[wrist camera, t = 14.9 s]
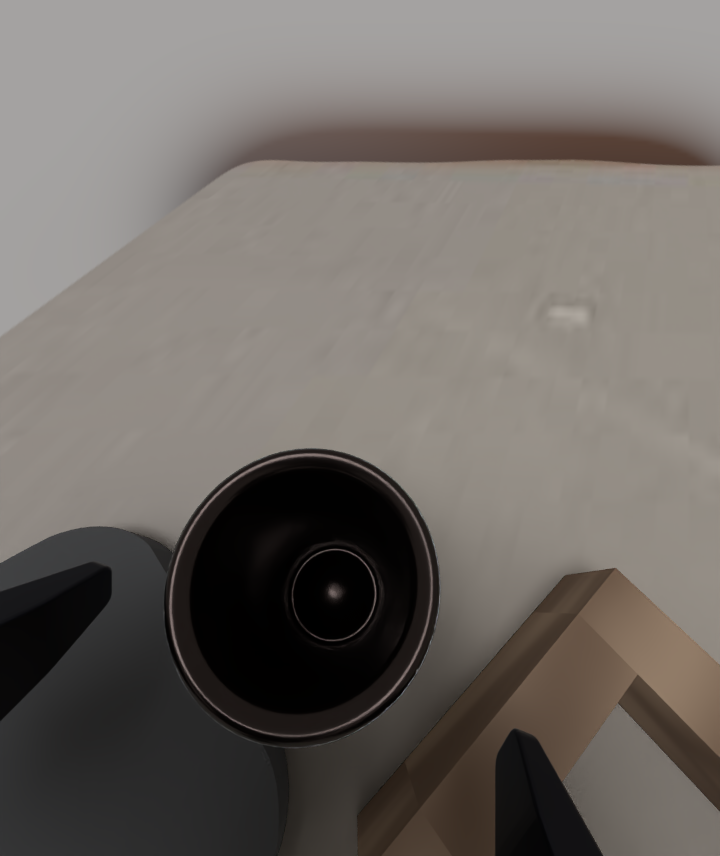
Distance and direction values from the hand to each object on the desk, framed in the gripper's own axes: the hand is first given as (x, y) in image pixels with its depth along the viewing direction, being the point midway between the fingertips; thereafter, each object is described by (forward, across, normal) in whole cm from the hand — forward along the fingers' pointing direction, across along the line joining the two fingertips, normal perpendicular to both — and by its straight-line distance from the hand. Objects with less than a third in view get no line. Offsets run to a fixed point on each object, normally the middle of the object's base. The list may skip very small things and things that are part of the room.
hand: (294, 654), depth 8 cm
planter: (+7, 0, +4) cm, 8 cm away
